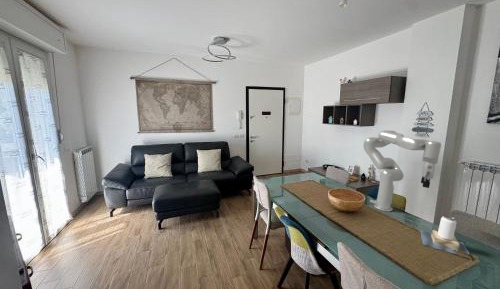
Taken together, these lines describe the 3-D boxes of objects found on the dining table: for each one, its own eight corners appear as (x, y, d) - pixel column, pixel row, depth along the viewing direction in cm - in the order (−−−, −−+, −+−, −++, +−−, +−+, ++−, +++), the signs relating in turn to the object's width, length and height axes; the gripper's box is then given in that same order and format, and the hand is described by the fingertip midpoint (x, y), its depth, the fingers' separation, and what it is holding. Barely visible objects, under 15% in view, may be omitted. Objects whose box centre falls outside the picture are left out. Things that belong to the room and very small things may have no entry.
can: (447, 241, 115) (452, 221, 113) (434, 234, 121) (438, 215, 119) (455, 239, 117) (460, 220, 115) (442, 233, 123) (446, 214, 121)
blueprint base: (423, 245, 118) (424, 237, 117) (419, 231, 133) (421, 224, 132) (472, 260, 107) (474, 252, 106) (462, 243, 122) (464, 236, 121)
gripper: (440, 163, 124) (434, 190, 127) (435, 159, 139) (430, 183, 141) (424, 161, 129) (418, 187, 131) (420, 157, 143) (416, 180, 146)
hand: (424, 185), depth 136 cm, fingers open, 9 cm apart
